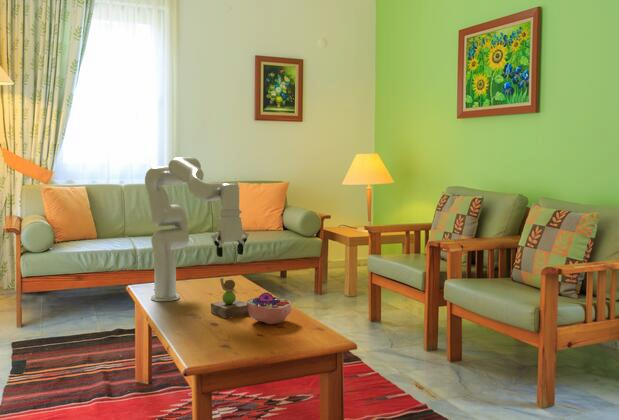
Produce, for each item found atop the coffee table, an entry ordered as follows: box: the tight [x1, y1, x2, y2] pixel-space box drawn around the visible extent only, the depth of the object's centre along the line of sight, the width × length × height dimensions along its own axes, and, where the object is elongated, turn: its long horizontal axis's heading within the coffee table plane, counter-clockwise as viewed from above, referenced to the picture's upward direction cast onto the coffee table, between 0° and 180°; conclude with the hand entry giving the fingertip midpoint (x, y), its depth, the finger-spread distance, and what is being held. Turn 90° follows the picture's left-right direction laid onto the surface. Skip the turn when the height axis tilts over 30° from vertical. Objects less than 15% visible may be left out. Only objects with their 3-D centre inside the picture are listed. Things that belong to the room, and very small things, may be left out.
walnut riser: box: [210, 299, 250, 320], centre depth 260 cm, size 12×12×4 cm
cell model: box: [245, 292, 292, 325], centre depth 246 cm, size 17×20×11 cm
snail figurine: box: [219, 274, 237, 304], centre depth 259 cm, size 5×6×12 cm
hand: (230, 255), depth 258 cm, fingers open, 9 cm apart
